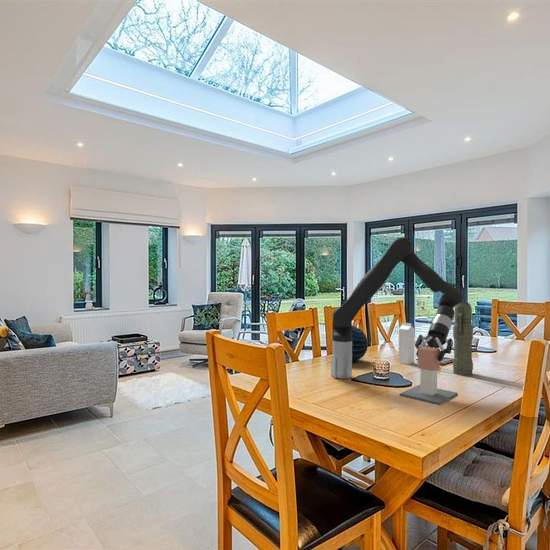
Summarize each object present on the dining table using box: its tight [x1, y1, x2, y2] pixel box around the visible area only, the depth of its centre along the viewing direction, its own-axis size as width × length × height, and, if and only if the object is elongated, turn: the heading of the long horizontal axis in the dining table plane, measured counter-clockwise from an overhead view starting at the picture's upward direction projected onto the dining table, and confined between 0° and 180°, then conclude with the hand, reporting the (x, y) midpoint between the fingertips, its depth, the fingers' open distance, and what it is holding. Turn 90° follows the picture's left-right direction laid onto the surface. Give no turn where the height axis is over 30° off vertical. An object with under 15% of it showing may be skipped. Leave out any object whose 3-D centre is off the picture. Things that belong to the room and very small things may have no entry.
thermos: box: [452, 301, 474, 377], centre depth 194 cm, size 9×12×35 cm
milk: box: [398, 322, 415, 365], centre depth 217 cm, size 6×6×22 cm
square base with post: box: [399, 368, 458, 406], centre depth 159 cm, size 18×16×18 cm
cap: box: [417, 347, 441, 371], centre depth 159 cm, size 6×6×8 cm
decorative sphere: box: [331, 325, 369, 363], centre depth 220 cm, size 20×20×20 cm
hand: (428, 358), depth 159 cm, fingers open, 8 cm apart
